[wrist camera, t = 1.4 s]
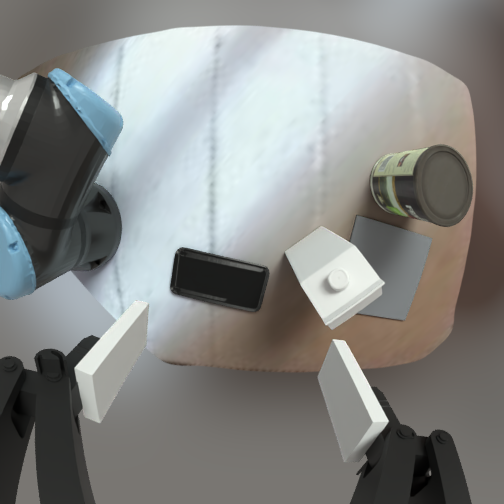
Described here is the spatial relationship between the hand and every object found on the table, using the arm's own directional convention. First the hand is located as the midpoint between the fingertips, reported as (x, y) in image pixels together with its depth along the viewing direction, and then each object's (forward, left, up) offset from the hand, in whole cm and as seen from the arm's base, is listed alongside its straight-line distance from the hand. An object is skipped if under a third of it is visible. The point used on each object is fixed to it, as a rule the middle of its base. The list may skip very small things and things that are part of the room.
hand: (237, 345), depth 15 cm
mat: (+24, 0, -30) cm, 38 cm away
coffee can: (+22, +15, -30) cm, 40 cm away
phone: (-3, -7, -30) cm, 31 cm away
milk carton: (+11, 0, -30) cm, 32 cm away
